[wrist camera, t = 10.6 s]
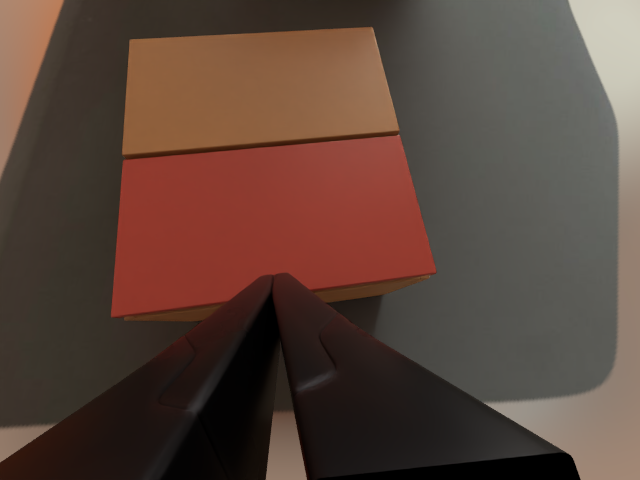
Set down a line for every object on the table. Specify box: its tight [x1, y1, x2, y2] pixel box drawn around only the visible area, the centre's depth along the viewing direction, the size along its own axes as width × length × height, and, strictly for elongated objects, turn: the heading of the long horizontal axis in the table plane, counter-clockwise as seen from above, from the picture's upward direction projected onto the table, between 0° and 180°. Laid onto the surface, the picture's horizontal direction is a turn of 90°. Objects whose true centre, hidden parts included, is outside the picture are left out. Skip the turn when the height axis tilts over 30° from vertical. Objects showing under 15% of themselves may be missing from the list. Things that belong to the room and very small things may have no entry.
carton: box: [122, 27, 429, 321], centre depth 15 cm, size 13×12×8 cm
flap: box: [111, 135, 437, 318], centre depth 11 cm, size 6×12×1 cm, turn 98°
